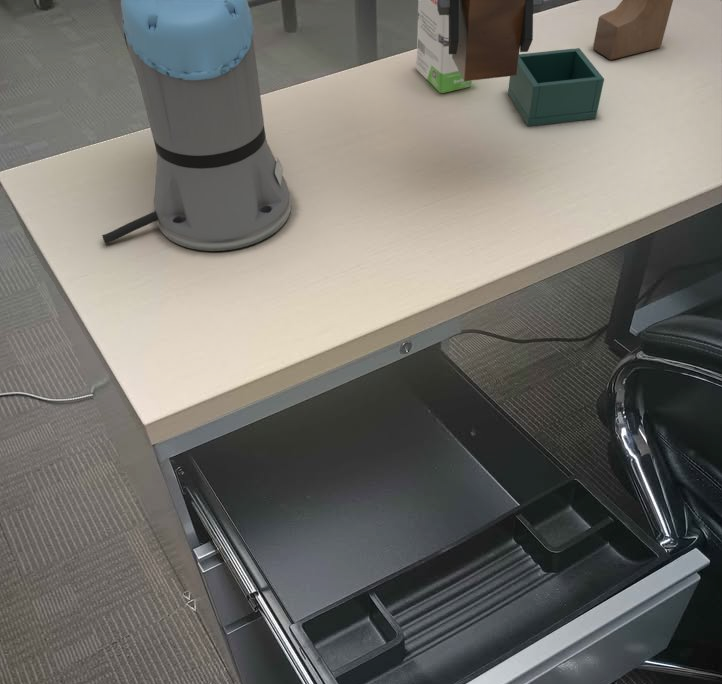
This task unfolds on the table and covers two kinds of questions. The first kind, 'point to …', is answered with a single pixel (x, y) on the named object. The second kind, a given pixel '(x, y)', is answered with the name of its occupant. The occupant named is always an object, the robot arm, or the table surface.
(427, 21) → the ink box
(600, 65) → the table surface
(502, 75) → the post
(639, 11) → the wooden block
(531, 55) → the open box
